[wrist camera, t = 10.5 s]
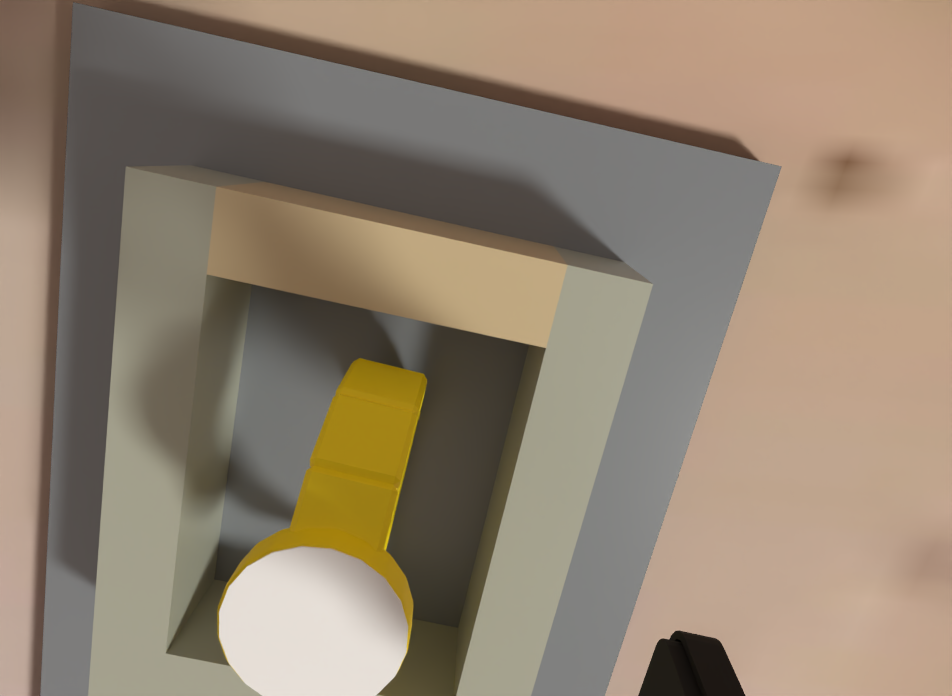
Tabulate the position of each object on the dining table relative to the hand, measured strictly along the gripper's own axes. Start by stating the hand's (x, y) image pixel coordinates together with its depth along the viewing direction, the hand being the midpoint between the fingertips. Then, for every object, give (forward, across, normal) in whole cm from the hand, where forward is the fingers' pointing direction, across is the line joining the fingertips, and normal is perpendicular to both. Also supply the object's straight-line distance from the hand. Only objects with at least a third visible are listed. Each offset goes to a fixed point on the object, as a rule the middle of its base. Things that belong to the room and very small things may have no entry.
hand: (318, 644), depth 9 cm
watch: (+6, 0, 0) cm, 6 cm away
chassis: (+7, 0, +2) cm, 7 cm away
